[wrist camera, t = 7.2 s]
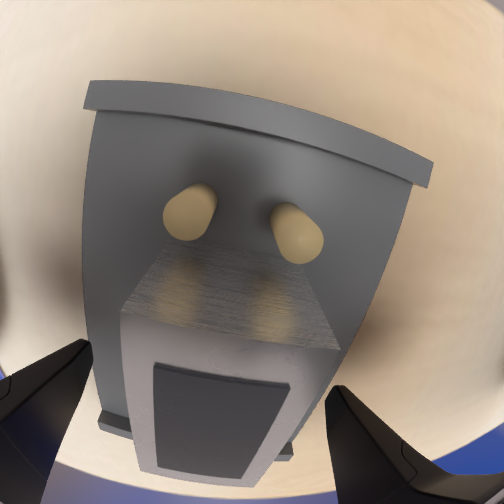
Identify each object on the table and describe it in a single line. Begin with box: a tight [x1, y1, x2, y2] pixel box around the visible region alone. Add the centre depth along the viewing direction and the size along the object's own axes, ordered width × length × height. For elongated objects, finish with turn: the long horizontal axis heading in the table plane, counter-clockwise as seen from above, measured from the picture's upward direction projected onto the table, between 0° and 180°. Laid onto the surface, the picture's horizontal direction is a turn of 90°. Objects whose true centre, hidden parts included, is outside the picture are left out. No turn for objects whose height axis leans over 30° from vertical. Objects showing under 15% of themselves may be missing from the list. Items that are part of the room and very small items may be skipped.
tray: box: [82, 80, 434, 461], centre depth 10 cm, size 12×18×4 cm, turn 167°
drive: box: [120, 237, 341, 487], centre depth 9 cm, size 4×8×5 cm, turn 167°
